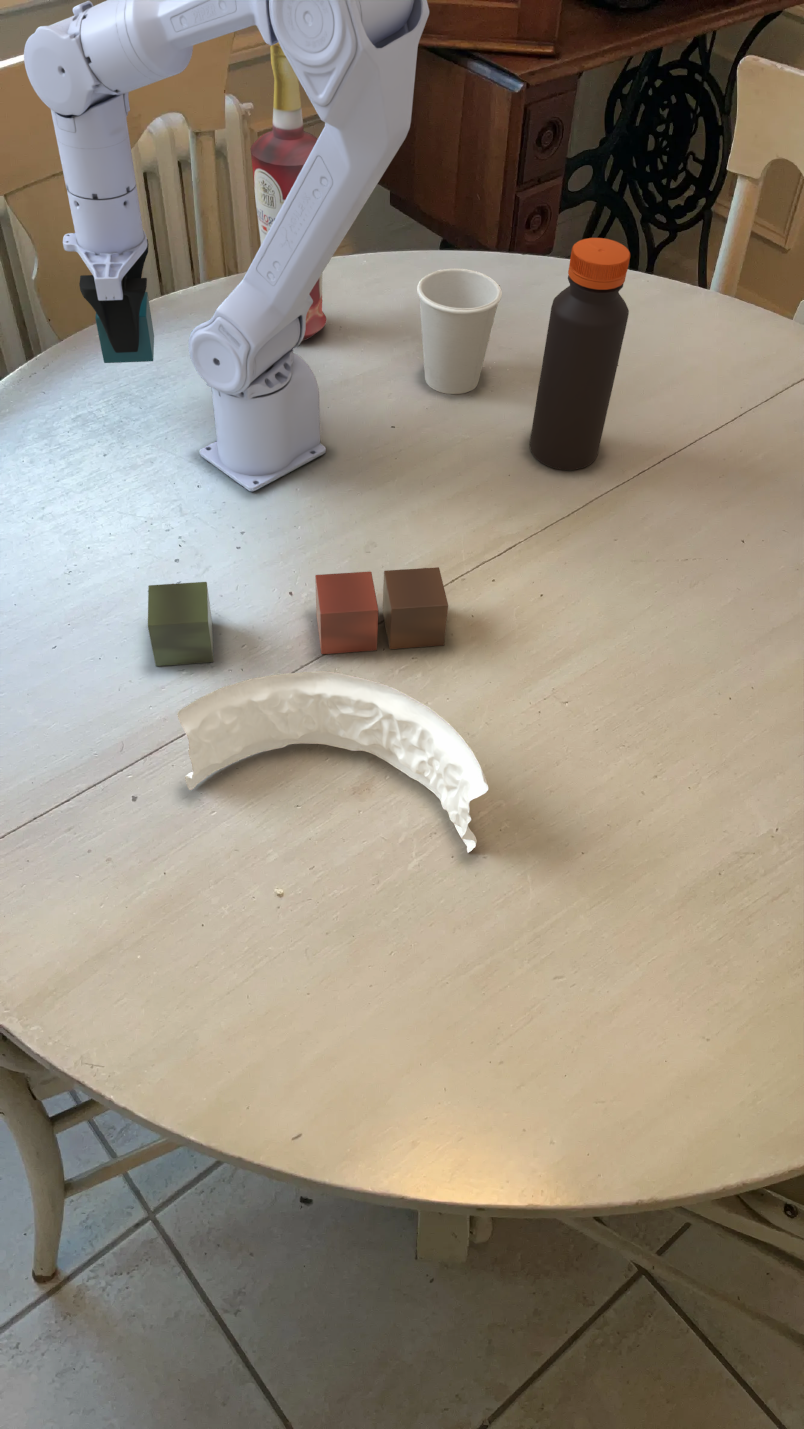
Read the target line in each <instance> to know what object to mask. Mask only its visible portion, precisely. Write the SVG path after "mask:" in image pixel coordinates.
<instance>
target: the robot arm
mask: <svg viewBox="0 0 804 1429" xmlns="http://www.w3.org/2000/svg"><path fill="white" fill-rule="evenodd" d="M72 13H73V15H72V16H69V17H67V18H64V19H61V20H59V21H57V22H55V23H52V24H49V25H41V26H38V27H37V28H36V29H35V31H34V33H32V34H30V35H29V36H28V38H27V40H26V42H25V44H24V50H23V62H24V68H25V71H26V75H27V78H28V80H29V83H30V85H31V87H32V89H33V91H34V92H35V93H36V94H35V95H37V97H38V98H39V99H40V100H41V102H42V103H43V104H44V105H46V106H47V107H48V109H50V114H51V118H52V123H53V129H54V133H55V138H56V143H57V150H58V154H59V158H60V164H61V168H62V173H63V174H62V175H63V177H64V178H63V179H64V183H65V188H66V193H67V197H68V203H69V208H70V214H71V218H72V223H73V228H74V232H68V233H65V234H64V235H63V238H62V247H63V250H64V251H66V252H75V253H77V254H78V255H79V257H80V258H81V260H82V261H83V262H84V265H85V266H86V267H87V269H88V270H89V272H90V273H91V274H87V275H86V274H85V275H84V274H83V275H80V276H79V282H78V284H79V286H78V287H79V290H80V293H81V295H82V297H83V299H84V300H86V302H88V304H89V305H90V307H91V308H92V309H93V310H94V312H95V314H96V313H97V315H98V316H99V318H100V320H101V322H102V324H103V327H104V329H105V331H106V334H107V336H108V339H109V341H110V343H111V345H112V347H113V349H114V351H115V352H116V353H124V352H137V351H138V346H139V312H140V306H141V303H142V300H143V297H144V295H145V292H147V286H148V278H147V277H142V276H143V271H144V266H145V262H146V259H147V257H148V253H149V246H150V245H149V240H148V238H147V234H146V232H145V230H144V227H143V221H142V220H143V218H142V214H141V206H140V199H139V193H138V186H137V179H136V172H135V166H134V160H133V153H132V146H131V139H130V133H129V127H128V119H127V118H128V115H129V112H131V107H130V100H129V94H130V92H133V91H135V90H138V89H141V88H143V87H147V86H149V85H153V84H155V83H158V82H160V81H162V80H165V79H168V78H171V77H174V76H176V75H179V74H181V73H183V72H184V71H185V70H186V68H187V67H188V66H189V64H190V63H191V60H192V56H193V52H194V46H195V45H199V44H201V43H205V42H208V41H210V40H213V39H217V38H220V37H224V36H226V35H229V34H231V33H235V32H238V31H241V30H244V29H247V28H250V27H254V26H256V28H257V29H258V31H259V33H260V35H261V37H262V39H263V41H264V43H266V44H267V45H268V46H269V47H270V46H272V45H274V44H276V43H278V42H279V44H280V46H281V48H282V50H283V52H284V54H285V56H286V58H287V59H288V61H289V63H290V65H291V67H292V68H293V70H294V72H295V74H296V76H297V77H298V81H299V84H300V85H301V86H302V88H303V90H304V92H305V94H306V96H307V97H308V100H309V101H310V103H311V104H312V106H313V108H314V110H315V112H316V114H317V116H318V117H319V119H320V120H321V122H323V123H324V127H323V128H322V131H321V132H320V135H319V136H318V138H317V139H318V140H317V142H316V144H315V145H314V147H313V149H312V151H311V153H310V155H309V157H308V158H307V160H306V162H305V164H304V166H303V168H302V170H301V172H300V173H299V175H298V177H297V179H296V181H295V183H294V185H293V186H292V188H291V190H290V192H289V194H288V196H287V198H286V200H285V201H284V203H283V205H282V207H281V209H280V211H279V213H278V215H277V216H276V218H275V220H274V222H273V224H272V226H271V228H270V229H269V231H268V233H267V235H266V237H265V239H264V241H263V243H262V244H261V243H260V246H259V248H258V249H257V251H256V254H255V255H254V257H253V259H252V261H251V263H250V265H249V266H248V268H247V271H246V272H245V275H244V276H243V279H242V280H240V282H238V284H237V285H236V286H235V287H234V289H232V291H231V292H230V293H229V294H228V295H227V296H226V298H225V299H224V300H223V301H222V302H221V303H220V304H219V305H218V307H216V309H215V311H214V313H213V315H212V316H211V317H210V318H209V319H208V320H205V321H204V322H201V323H200V324H198V325H197V326H195V327H194V328H193V329H192V330H191V332H190V334H189V337H188V344H187V347H188V354H189V357H190V360H191V364H192V365H193V367H194V369H195V371H196V372H197V374H198V376H199V377H200V378H201V379H202V380H203V381H204V382H205V383H206V386H208V387H210V389H211V397H212V407H213V416H214V417H213V418H214V426H215V435H216V441H214V442H211V443H209V444H208V445H205V446H204V447H202V448H200V449H199V456H200V457H201V458H203V459H204V460H206V461H207V462H208V463H210V464H211V465H213V466H214V467H215V468H217V469H218V470H220V472H222V473H224V474H225V475H226V476H228V477H229V478H231V479H232V480H233V481H235V482H236V483H238V484H239V485H240V486H242V487H243V488H244V489H246V490H247V491H249V492H255V491H257V490H259V489H261V488H263V487H265V486H267V485H268V484H270V483H272V482H274V481H276V480H278V479H280V478H281V477H283V476H286V475H287V474H289V473H290V472H291V473H292V472H293V471H295V470H297V469H298V468H300V467H302V466H304V465H306V464H308V463H310V462H311V461H314V460H315V459H317V458H319V457H320V456H323V455H324V454H326V452H327V448H326V446H324V445H323V444H321V417H320V416H321V414H320V410H321V408H320V389H319V385H318V382H317V379H316V376H315V373H314V372H313V370H312V368H311V367H310V365H309V364H308V363H307V361H305V360H304V359H303V358H302V357H301V356H300V355H298V354H297V353H295V352H294V349H295V348H296V347H298V346H299V345H301V343H302V341H304V340H303V338H304V335H305V330H306V315H307V312H308V310H309V308H310V306H311V305H312V303H313V300H312V298H311V296H310V295H309V293H310V292H311V290H312V289H313V287H314V285H315V284H316V282H317V281H318V279H319V277H320V276H321V274H322V272H324V271H325V270H326V268H327V266H328V264H329V263H330V261H331V260H332V258H333V256H334V255H335V253H336V252H337V250H338V248H339V247H340V245H341V243H342V242H343V240H344V238H345V237H346V235H347V234H348V232H349V230H350V229H351V227H352V226H353V224H354V223H355V221H356V220H357V217H358V216H359V214H360V212H361V211H362V210H363V208H364V206H365V204H366V203H367V202H368V200H369V199H370V197H371V195H372V193H373V192H374V190H375V188H376V187H377V185H378V183H379V182H380V180H381V179H382V177H383V176H384V174H385V172H386V171H387V169H388V168H389V166H390V164H391V163H392V161H393V159H394V158H395V156H396V155H397V153H398V151H399V150H400V148H401V146H402V145H403V143H404V141H405V140H406V138H407V136H408V133H409V131H410V128H411V123H412V113H413V104H414V103H413V102H414V94H415V93H414V91H415V82H416V70H417V58H418V49H419V48H418V47H419V43H420V40H421V37H422V35H423V32H424V29H425V26H426V23H427V21H428V18H429V16H430V8H429V3H428V0H104V1H102V2H99V3H97V4H95V5H94V4H93V2H92V1H90V0H86V1H84V2H82V3H79V4H77V5H75V6H73V7H72Z"/></svg>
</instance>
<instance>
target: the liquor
mask: <svg viewBox="0 0 804 1429" xmlns="http://www.w3.org/2000/svg"><path fill="white" fill-rule="evenodd" d="M269 48H270V49H269V51H270V52H269V53H270V65H271V68H272V74H273V78H274V80H273V81H274V82H273V83H274V84H273V105H272V108H273V109H272V128H271V129H272V130H270V131H267V132H265V133H263V134H262V135H261V136H259V137H258V138H257V139H256V140H255V141H254V142H253V143H252V144H251V146H250V158H251V167H252V178H253V187H254V196H255V197H254V198H255V207H256V217H257V223H258V224H257V225H258V232H259V240H260V245H261V244H262V243H263V241H264V239H265V237H266V235H267V233H268V231H269V229H270V228H271V226H272V224H273V222H274V220H275V218H276V216H277V215H278V213H279V211H280V209H281V207H282V205H283V203H284V201H285V200H286V198H287V196H288V194H289V192H290V190H291V188H292V186H293V185H294V183H295V181H296V179H297V177H298V175H299V173H300V172H301V170H302V168H303V166H304V164H305V162H306V160H307V158H308V157H309V155H310V153H311V151H312V149H313V147H314V145H315V144H316V142H317V140H318V138H317V137H316V136H315V135H314V134H312V133H310V132H307V131H305V129H304V121H303V111H302V100H301V91H300V81H299V79H298V77H297V76H296V74H295V72H294V70H293V68H292V67H291V65H290V63H289V61H288V59H287V58H286V56H285V54H284V52H283V50H282V48H281V46H280V44H279V42H278V43H276V44H274V45H272V46H270V45H269ZM323 272H324V271H323ZM323 272H322V274H321V276H320V277H319V279H318V281H317V282H316V284H315V285H314V287H313V289H312V290H311V292H310V293H309V295H310V296H311V298H312V300H313V303H312V305H311V306H310V308H309V310H308V312H307V315H306V330H305V335H304V338H303V340H302V341H305V340H308V339H310V338H311V337H313V336H315V335H316V334H317V333H318V332H320V331H321V330H323V329H324V327H325V325H326V323H327V316H326V315H325V312H324V310H323Z"/></svg>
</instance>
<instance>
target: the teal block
mask: <svg viewBox="0 0 804 1429" xmlns="http://www.w3.org/2000/svg"><path fill="white" fill-rule="evenodd" d="M94 319H95V324H96V329H97V335H98V339H99V345H100V349H101V350H100V351H101V354H102V360H103V363H104V364H119V363H120V364H121V363H147V362H148V363H149V362H154V356H155V355H154V354H155V353H154V352H155V332H154V331H155V330H154V327H153V319H152V312H151V306H150V300H149V292H148V291H145V295H144V297H143V300H142V303H141V306H140V312H139V346H138V351H137V352H124V353H116V352H115V351H114V349H113V347H112V345H111V343H110V341H109V339H108V336H107V334H106V331H105V329H104V327H103V324H102V322H101V320H100V318H99V316H98V315H97V313H96V312H95V318H94Z"/></svg>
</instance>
